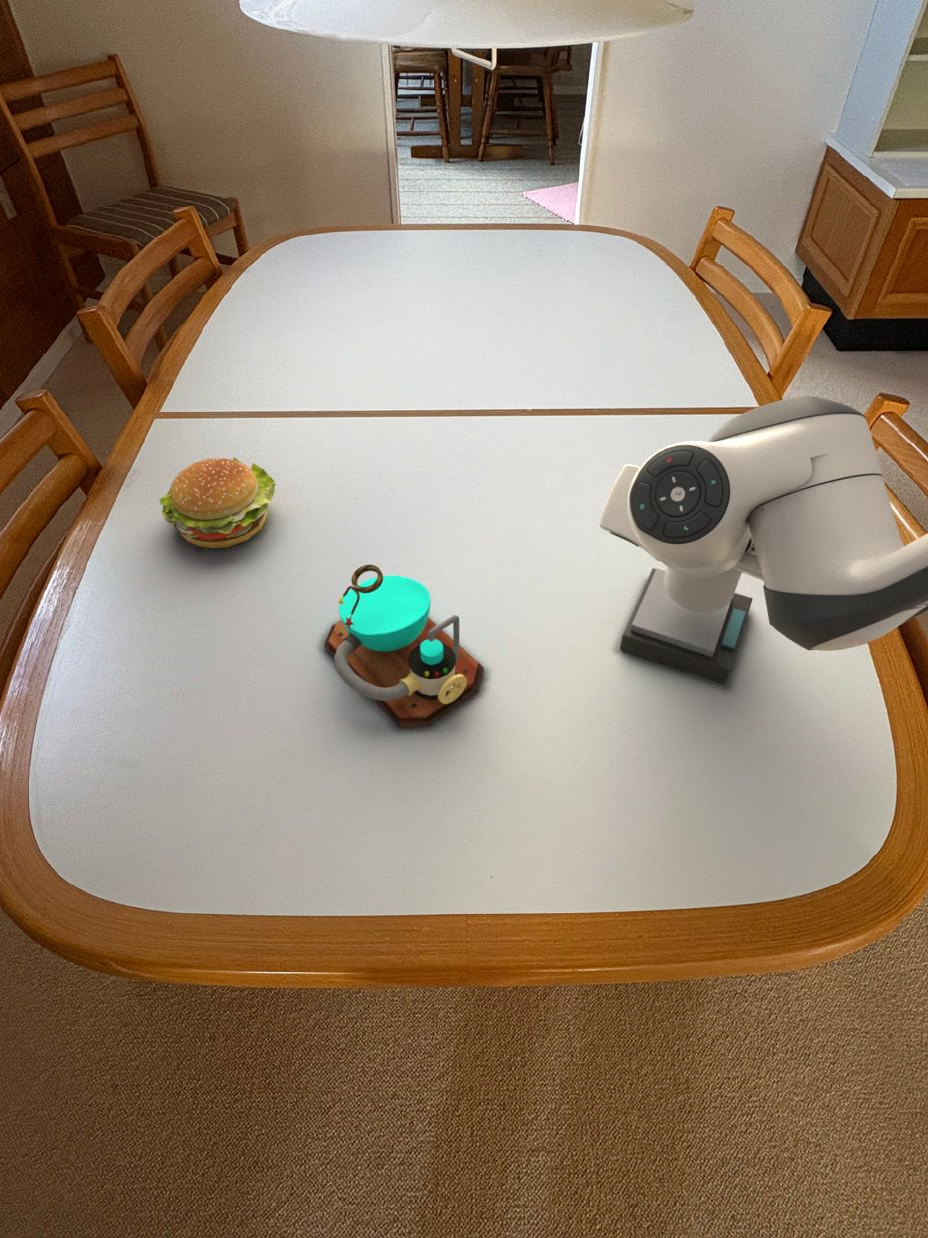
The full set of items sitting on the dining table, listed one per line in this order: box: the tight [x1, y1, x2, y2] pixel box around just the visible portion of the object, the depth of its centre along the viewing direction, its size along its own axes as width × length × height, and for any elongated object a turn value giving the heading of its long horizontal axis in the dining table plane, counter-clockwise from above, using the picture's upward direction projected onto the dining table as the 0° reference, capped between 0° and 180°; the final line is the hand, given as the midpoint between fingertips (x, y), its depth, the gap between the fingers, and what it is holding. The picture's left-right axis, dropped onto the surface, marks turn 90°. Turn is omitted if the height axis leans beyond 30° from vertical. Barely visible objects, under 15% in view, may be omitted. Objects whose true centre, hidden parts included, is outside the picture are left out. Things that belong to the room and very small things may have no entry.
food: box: [158, 456, 276, 549], centre depth 101 cm, size 14×14×8 cm
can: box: [664, 566, 743, 612], centre depth 82 cm, size 8×8×12 cm
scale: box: [619, 567, 754, 685], centre depth 90 cm, size 12×12×4 cm
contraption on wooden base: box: [323, 564, 485, 728], centre depth 82 cm, size 14×18×15 cm
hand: (711, 546), depth 82 cm, fingers closed on can, 7 cm apart
